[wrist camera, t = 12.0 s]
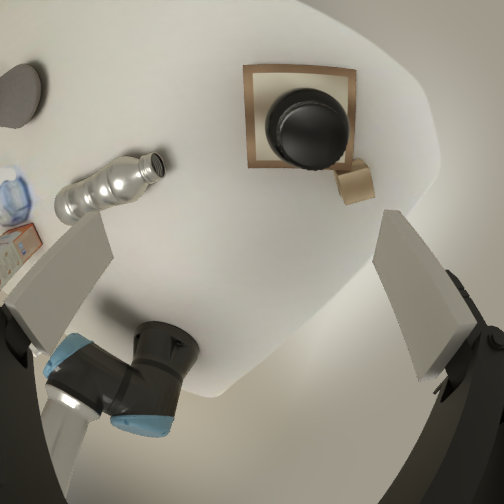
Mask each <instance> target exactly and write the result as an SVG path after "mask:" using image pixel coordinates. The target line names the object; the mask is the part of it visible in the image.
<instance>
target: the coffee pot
mask: <svg viewBox="0 0 504 504" xmlns="http://www.w3.org/2000/svg"><path fill="white" fill-rule="evenodd" d="M40 98H41V81H40V79H39V76H38V74H37V72H36V70H35V69H34V68H33V67H31V66H29V65H27V64H19V65H17V66H15V67H14V68H12V69H11V70H9V71H8V72H7V73H5V74H4V75H3V76H1V77H0V126H1V127H8V128H14V129H16V128H21V127H22V126H24V125H25V124H26V123H27V122H28V121H29V120H30V119H31V118H32V116H33V115H34V113H35V111H36V109H37V106H38V104H39V101H40Z"/></svg>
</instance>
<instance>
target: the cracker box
mask: <svg viewBox="0 0 504 504" xmlns="http://www.w3.org/2000/svg"><path fill="white" fill-rule="evenodd" d="M41 246H42V243H41V241H40V239H39V236H38V234H37V232H36V230H35V228H34V226H33V223H31V224H28V225H25V226H22V227H18V228H15V229H12V230H9V231H6V232H5V233H4V234H3V235H2V236H0V291H1V289H2V288H3V287H4V286H5V285H6V283H7V282H8V281H9V280H10V279H11V278H12V276H13V275H14V274H15V273H16V272H17V271H18V270H19V269H20V268H21V266H22V265H23V264H24V263H25V262H26V261H27V260H28V259H29V258H30V257H31V256H32V255H33V254H34V253H35V252H36V251H37V250H38V249H39V248H40V247H41Z"/></svg>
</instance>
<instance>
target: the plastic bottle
mask: <svg viewBox="0 0 504 504" xmlns="http://www.w3.org/2000/svg"><path fill="white" fill-rule="evenodd" d="M165 175H166V168H165V164H164V161H163V159H162V157H161V156H160V155H159V154H158V153H157V152H152V153H150V154H148V155H144V156H141V157H140V159H137V158H134V157H129V156H123V157H118V158H116V159H115V160H113V161H112V162H110V163H109V164H108V165H106V166H105V167H104V168H102V169H101V170H100V171H98V172H96V173H95V174H93V175H92V176H90V177H89V178H87V179H84V180H82V181H80V182H77V183H74V184H70V185H68V186H65V187H64V188H62V189H61V190H60V191H59V193H58V194H57V195H56V198H55V203H54V208H55V213H56V215H57V217H58V219H59V220H60V221H61V222H63V223H64V224H66V225H68V226H73V225H74V224H75V223H77V222H78V221H79V220H80V219H81V218H82V217H83V216H84V215H85V214H86V213H88V212H95V211H101V210H104V209H106V208H110V207H113V206H117V205H122V204H126V203H131V202H134V201H136V200H137V199H139V198H140V197H141V196H142V195H143V193H144V192H145V190H146V188H147V186H148V184H153V183H155V182H156V181H158V180H161V179H163V178H164V177H165Z"/></svg>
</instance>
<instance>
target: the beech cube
mask: <svg viewBox="0 0 504 504" xmlns="http://www.w3.org/2000/svg"><path fill="white" fill-rule="evenodd" d="M333 171H334V175H335V179H336V182H337V186H338V190H339V193H340V195H341V197H342V199H343V201H344V203H345V205H348V204H352V203H356V202H359V201H363V200H367V199H370V198H374V197H375V193H374V188H373V183H372V178H371V173H370V168H369V167H368V166H367V165H366V164H365V163H364V162H363V161H362V160H361V159H356V160H353V161H352V171H347V170H333Z"/></svg>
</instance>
